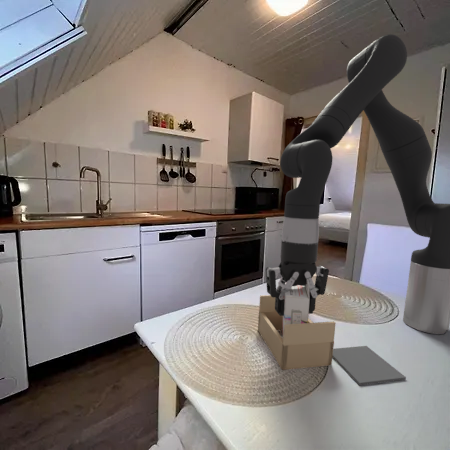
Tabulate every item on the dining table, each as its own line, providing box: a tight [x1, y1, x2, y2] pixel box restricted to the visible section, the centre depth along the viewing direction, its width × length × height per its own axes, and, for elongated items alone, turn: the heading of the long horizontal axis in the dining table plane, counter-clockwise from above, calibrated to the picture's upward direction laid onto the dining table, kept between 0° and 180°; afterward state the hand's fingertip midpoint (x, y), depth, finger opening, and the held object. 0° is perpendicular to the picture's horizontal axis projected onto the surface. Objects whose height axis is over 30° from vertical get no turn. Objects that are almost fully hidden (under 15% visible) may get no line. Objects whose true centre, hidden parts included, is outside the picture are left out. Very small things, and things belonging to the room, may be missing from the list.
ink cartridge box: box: [281, 279, 310, 337], centre depth 55 cm, size 9×5×15 cm, turn 169°
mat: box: [332, 345, 407, 386], centre depth 51 cm, size 10×10×1 cm
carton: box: [257, 294, 336, 371], centre depth 56 cm, size 11×15×9 cm
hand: (294, 313), depth 55 cm, fingers closed on ink cartridge box, 6 cm apart
